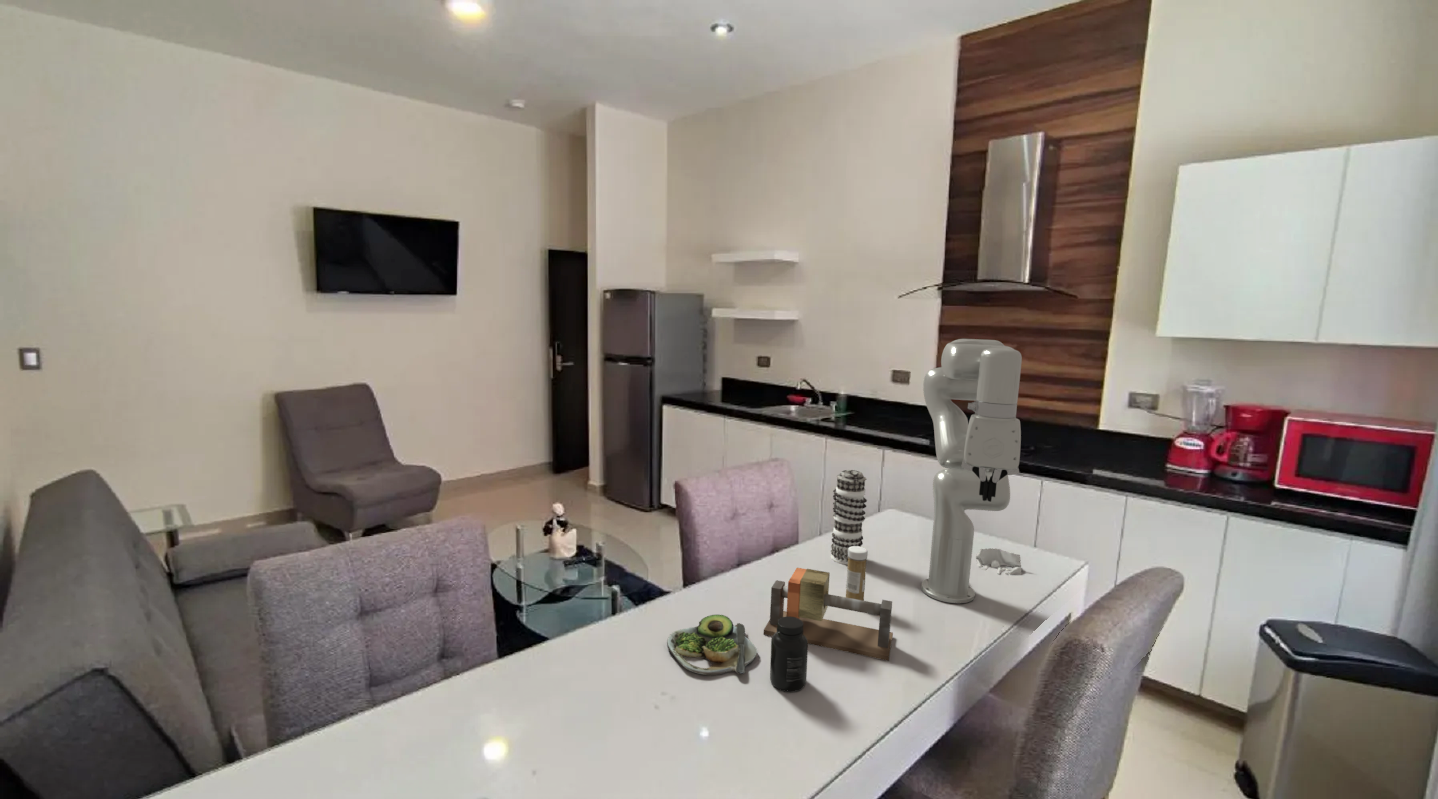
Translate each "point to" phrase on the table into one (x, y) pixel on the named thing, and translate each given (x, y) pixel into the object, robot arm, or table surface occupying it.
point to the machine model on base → (839, 625)
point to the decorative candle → (848, 514)
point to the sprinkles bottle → (856, 572)
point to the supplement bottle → (789, 655)
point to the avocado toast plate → (713, 646)
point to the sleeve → (813, 594)
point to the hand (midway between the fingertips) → (986, 499)
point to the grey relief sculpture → (999, 560)
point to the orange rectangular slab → (794, 593)
